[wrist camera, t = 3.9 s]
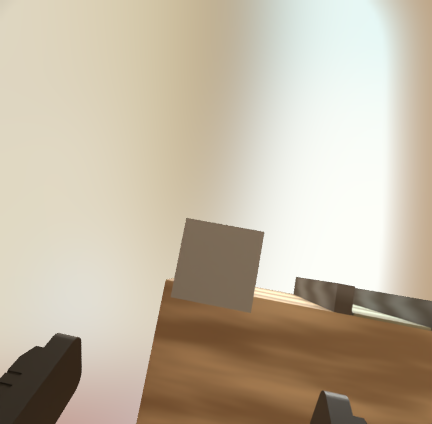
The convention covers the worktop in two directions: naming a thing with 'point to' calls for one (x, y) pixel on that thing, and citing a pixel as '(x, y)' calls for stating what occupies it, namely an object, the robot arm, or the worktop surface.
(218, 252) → the light gray bar
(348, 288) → the maple block
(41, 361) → the robot arm
